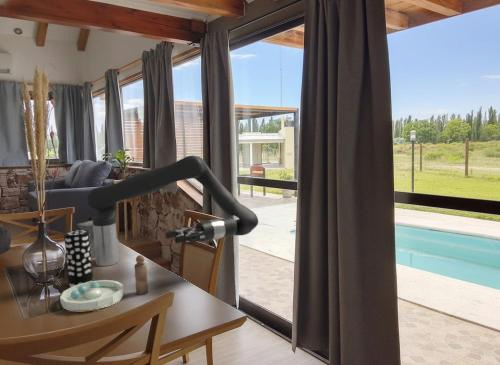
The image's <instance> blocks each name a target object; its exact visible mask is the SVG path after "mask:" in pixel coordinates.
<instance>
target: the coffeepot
mask: <svg viewBox="0 0 500 365" xmlns="http://www.w3.org/2000/svg"><path fill="white" fill-rule="evenodd" d="M87 218H88V220H87V221H84V222H79V223H77V224H76V226H77V227H78V228H79V230H89V235H90V247H91V259H92V258H96V256H95V244H94V232H93V217H92V216H89V217H87Z"/></svg>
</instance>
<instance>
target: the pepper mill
mask: <svg viewBox="0 0 500 365" xmlns="http://www.w3.org/2000/svg"><path fill="white" fill-rule="evenodd" d="M135 262H136V264H134V279H135V291H136V295H137V294H138V296H143V295H147V294H148V293H149V282H148V268H147V263H145V257H144V255H141V254H140V255H137V256H136V258H135Z"/></svg>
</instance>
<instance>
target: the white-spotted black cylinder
mask: <svg viewBox="0 0 500 365" xmlns="http://www.w3.org/2000/svg"><path fill="white" fill-rule="evenodd" d="M63 235H64V246H65V257H66V268H67V280H68V282H67V283H68V289H69V288H71V287H73V286H75V285H79V284H82V283H86V282H90V281H94V276H93V274H94V273H93V264H92V263H93V262H92V261H93V260H92V258H91V247H90V235H89V230H81V229H77V230H70V231H66V232H65V233H63Z"/></svg>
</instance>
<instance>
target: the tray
mask: <svg viewBox="0 0 500 365" xmlns="http://www.w3.org/2000/svg"><path fill="white" fill-rule="evenodd" d="M59 298H60V301H59V302H60V304H61V308H62V307H63V308H64V309H66V310H93V309H99V308H104V307H108V306H111V305H113V304H115V303H116V304H118V303H119V302H121V301H122V300H121V299H123V298H124V284H123V283H121V282H119V281H117V280H112V279H111V280H108V279H100V280H99V279H98V280H93V281H90V282H86V283H82V284H79V285H75V286H73V287H71V288H69V287H68V288H67V289H66V290H64V291H62V293H61V295H60V297H59ZM120 300H121V301H120ZM117 302H118V303H117ZM116 304H115V305H116ZM113 306H114V305H113ZM111 307H112V306H111ZM63 308H62V309H63ZM108 308H109V307H108ZM64 309H63V310H64ZM66 310H65V311H66Z"/></svg>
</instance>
